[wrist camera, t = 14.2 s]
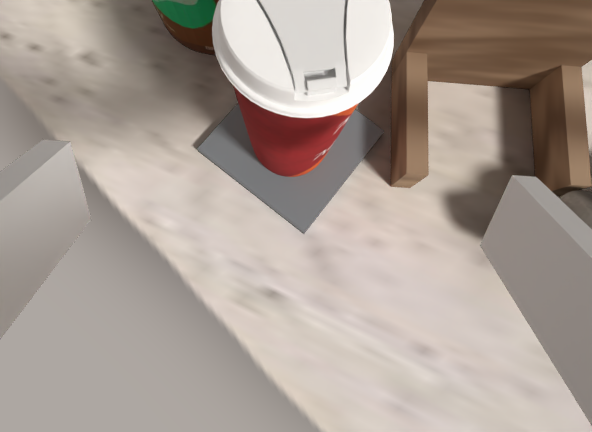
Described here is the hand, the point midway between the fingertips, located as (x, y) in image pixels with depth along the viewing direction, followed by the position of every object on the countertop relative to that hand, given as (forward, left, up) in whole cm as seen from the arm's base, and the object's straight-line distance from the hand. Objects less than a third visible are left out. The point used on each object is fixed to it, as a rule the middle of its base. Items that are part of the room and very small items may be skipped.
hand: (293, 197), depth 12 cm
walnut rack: (-6, -17, -16) cm, 24 cm away
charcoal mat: (+4, -7, -16) cm, 18 cm away
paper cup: (+4, -7, -16) cm, 18 cm away
